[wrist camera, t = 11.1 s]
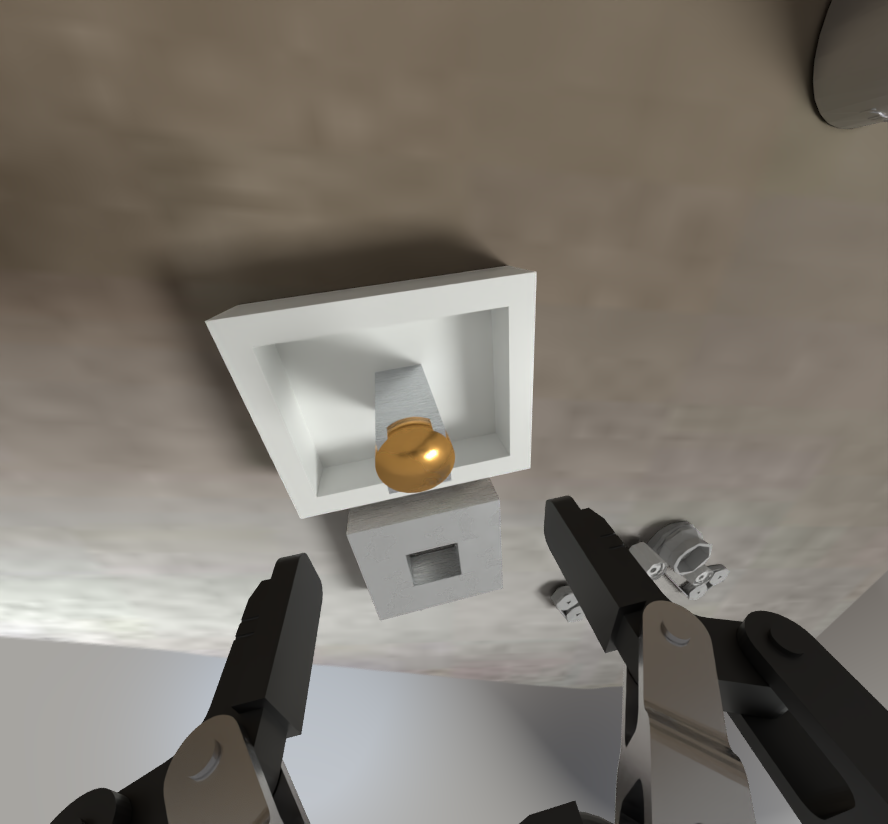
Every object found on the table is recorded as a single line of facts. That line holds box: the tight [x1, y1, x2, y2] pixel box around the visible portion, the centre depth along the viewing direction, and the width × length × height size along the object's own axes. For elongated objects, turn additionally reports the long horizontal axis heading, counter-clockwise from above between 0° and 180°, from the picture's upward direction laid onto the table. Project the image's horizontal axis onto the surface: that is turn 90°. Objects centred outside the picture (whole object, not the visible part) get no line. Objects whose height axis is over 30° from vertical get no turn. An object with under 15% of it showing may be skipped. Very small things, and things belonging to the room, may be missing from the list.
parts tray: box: [205, 266, 537, 519], centre depth 20 cm, size 13×16×4 cm
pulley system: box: [551, 521, 730, 622], centre depth 39 cm, size 27×5×15 cm
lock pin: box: [375, 364, 455, 494], centre depth 18 cm, size 4×4×8 cm
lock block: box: [347, 477, 503, 620], centre depth 29 cm, size 12×12×3 cm
